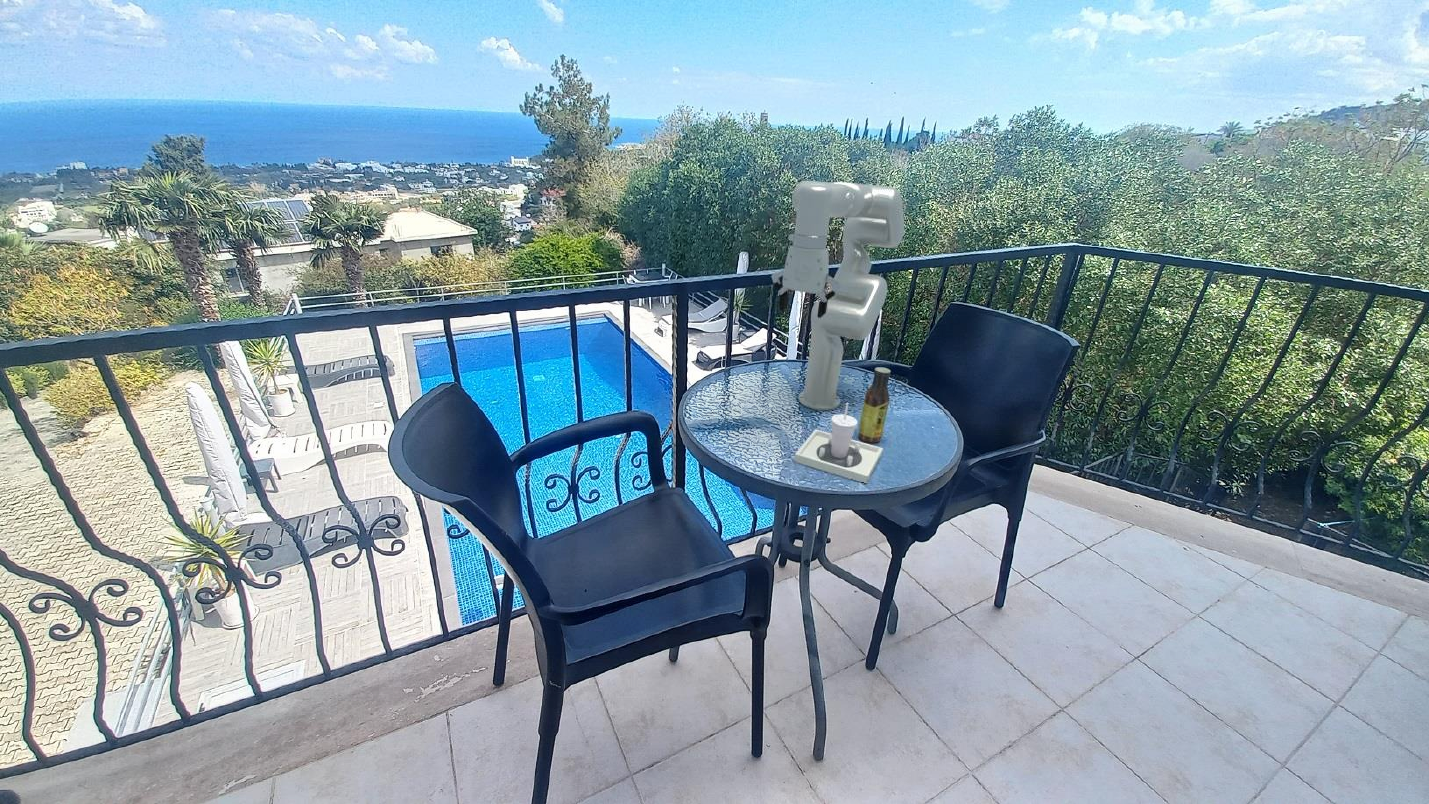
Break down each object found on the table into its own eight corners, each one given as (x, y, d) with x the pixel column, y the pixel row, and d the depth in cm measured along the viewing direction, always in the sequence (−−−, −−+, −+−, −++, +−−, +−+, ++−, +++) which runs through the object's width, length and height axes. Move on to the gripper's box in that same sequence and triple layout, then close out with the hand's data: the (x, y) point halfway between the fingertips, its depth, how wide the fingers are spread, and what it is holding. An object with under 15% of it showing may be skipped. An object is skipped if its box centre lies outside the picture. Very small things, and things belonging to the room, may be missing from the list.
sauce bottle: (876, 446, 142) (891, 377, 133) (854, 439, 144) (866, 371, 136) (884, 436, 147) (898, 369, 138) (861, 429, 150) (874, 363, 141)
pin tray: (814, 436, 145) (815, 424, 143) (881, 455, 138) (883, 443, 136) (794, 461, 133) (795, 449, 131) (866, 484, 126) (868, 471, 124)
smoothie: (853, 450, 137) (862, 401, 130) (850, 463, 131) (859, 412, 125) (828, 445, 138) (835, 396, 132) (823, 457, 133) (831, 407, 127)
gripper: (769, 239, 126) (763, 310, 133) (842, 249, 119) (831, 323, 127) (781, 235, 132) (774, 303, 140) (850, 244, 125) (840, 315, 133)
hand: (801, 312), depth 133 cm, fingers open, 9 cm apart
